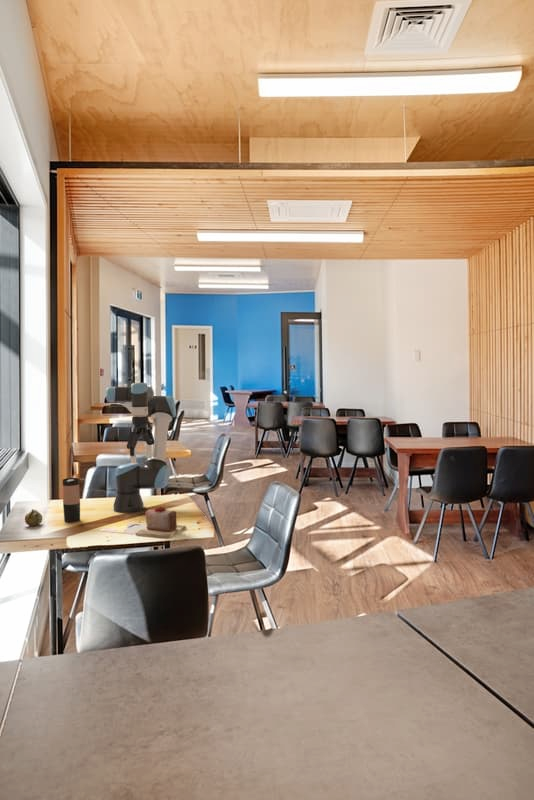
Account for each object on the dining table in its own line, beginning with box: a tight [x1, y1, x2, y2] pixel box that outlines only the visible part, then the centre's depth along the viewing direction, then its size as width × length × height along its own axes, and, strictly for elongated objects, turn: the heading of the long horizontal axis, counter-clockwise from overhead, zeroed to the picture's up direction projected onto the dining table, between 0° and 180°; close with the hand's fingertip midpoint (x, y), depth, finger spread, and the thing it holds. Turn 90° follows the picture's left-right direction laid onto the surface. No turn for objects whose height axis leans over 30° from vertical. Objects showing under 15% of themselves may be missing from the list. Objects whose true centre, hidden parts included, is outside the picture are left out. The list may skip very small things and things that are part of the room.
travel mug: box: [62, 477, 81, 524], centre depth 283 cm, size 8×8×20 cm
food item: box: [144, 506, 178, 531], centre depth 262 cm, size 14×8×10 cm, turn 67°
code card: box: [98, 521, 147, 535], centre depth 270 cm, size 16×18×1 cm
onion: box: [24, 508, 43, 527], centre depth 276 cm, size 8×8×8 cm
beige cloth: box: [135, 524, 187, 539], centre depth 262 cm, size 16×16×1 cm
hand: (141, 460), depth 280 cm, fingers open, 13 cm apart
